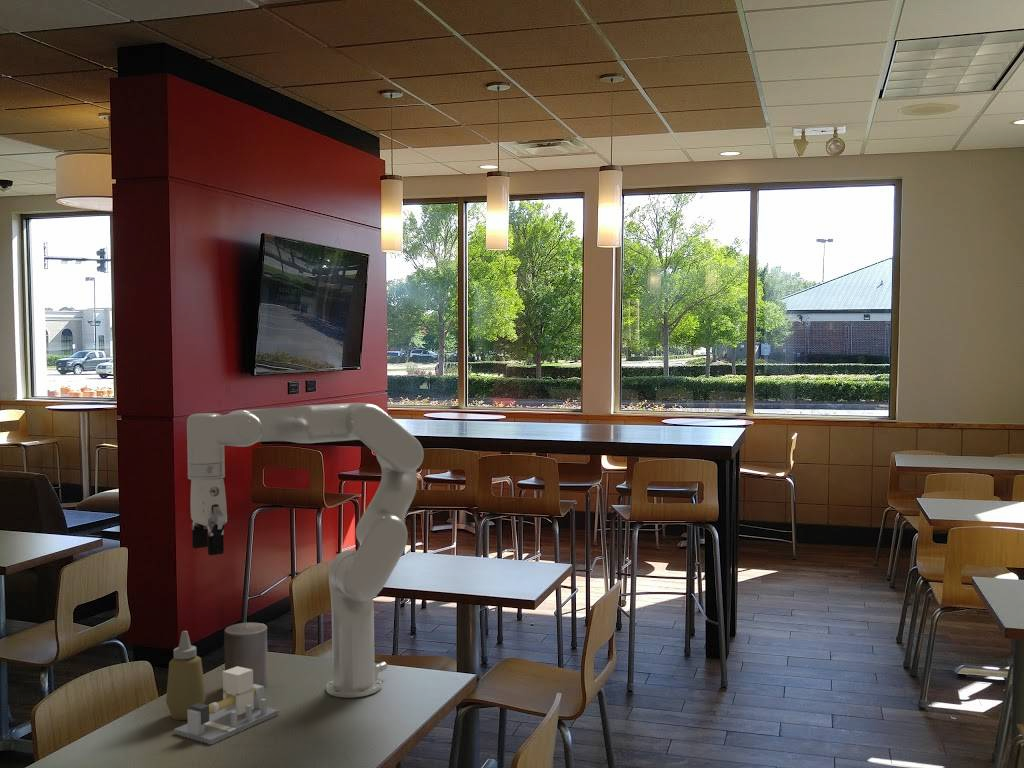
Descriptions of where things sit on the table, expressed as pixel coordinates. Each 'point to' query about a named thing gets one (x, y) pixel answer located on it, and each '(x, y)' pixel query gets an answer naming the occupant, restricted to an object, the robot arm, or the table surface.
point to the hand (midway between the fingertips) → (207, 550)
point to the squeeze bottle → (184, 679)
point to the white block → (238, 688)
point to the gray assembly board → (224, 718)
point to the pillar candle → (247, 649)
